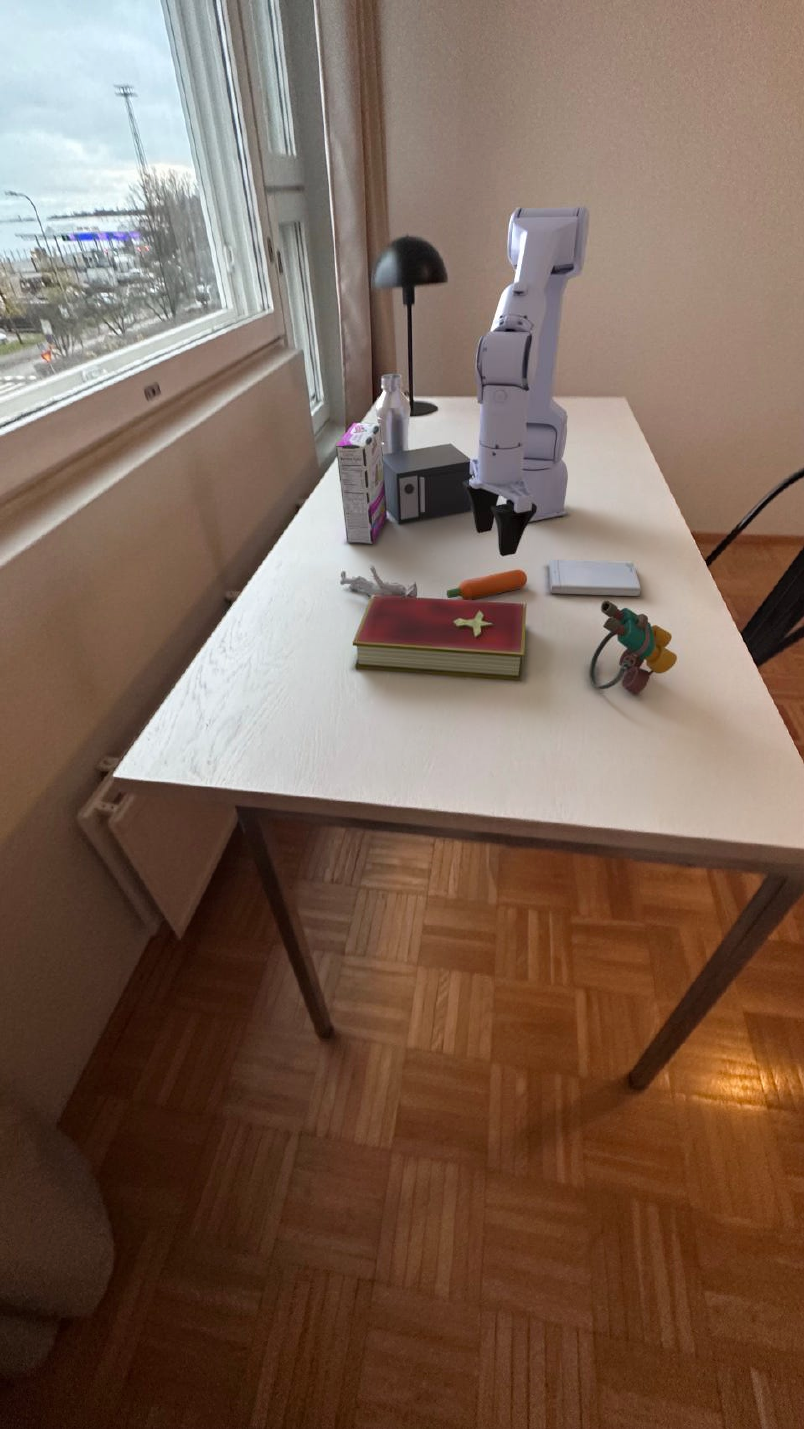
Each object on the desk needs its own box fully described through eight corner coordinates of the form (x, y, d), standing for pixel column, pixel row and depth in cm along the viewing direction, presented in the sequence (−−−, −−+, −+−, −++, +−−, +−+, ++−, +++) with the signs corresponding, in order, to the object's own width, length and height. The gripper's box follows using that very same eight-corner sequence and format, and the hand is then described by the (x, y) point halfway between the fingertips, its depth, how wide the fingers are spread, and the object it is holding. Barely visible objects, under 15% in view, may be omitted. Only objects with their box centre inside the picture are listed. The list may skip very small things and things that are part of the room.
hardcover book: (374, 617, 90) (372, 591, 87) (524, 626, 86) (526, 600, 84) (355, 668, 81) (352, 641, 78) (521, 680, 78) (524, 652, 75)
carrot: (520, 581, 96) (522, 564, 94) (529, 590, 94) (531, 573, 92) (444, 598, 93) (444, 581, 91) (451, 607, 91) (451, 590, 89)
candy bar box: (361, 516, 116) (353, 421, 105) (387, 517, 115) (382, 422, 104) (344, 543, 108) (334, 444, 97) (373, 545, 107) (365, 445, 96)
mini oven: (473, 512, 115) (474, 462, 109) (400, 526, 112) (398, 475, 106) (450, 491, 123) (450, 443, 117) (381, 503, 120) (378, 455, 114)
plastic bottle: (374, 492, 124) (367, 380, 111) (388, 479, 128) (382, 371, 115) (405, 496, 122) (401, 382, 109) (417, 483, 126) (415, 372, 113)
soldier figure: (364, 583, 99) (431, 575, 93) (361, 613, 98) (428, 607, 92) (334, 566, 93) (403, 556, 86) (330, 598, 92) (400, 590, 85)
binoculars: (620, 717, 75) (687, 664, 69) (560, 679, 73) (622, 621, 66) (615, 670, 82) (674, 617, 75) (559, 634, 80) (615, 577, 73)
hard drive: (633, 560, 96) (550, 558, 97) (641, 588, 90) (552, 584, 91) (631, 570, 97) (548, 567, 99) (638, 598, 91) (550, 594, 92)
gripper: (450, 429, 84) (449, 526, 93) (498, 465, 73) (491, 571, 82) (498, 422, 85) (492, 518, 94) (552, 456, 75) (540, 560, 84)
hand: (495, 542), depth 88 cm, fingers open, 7 cm apart
